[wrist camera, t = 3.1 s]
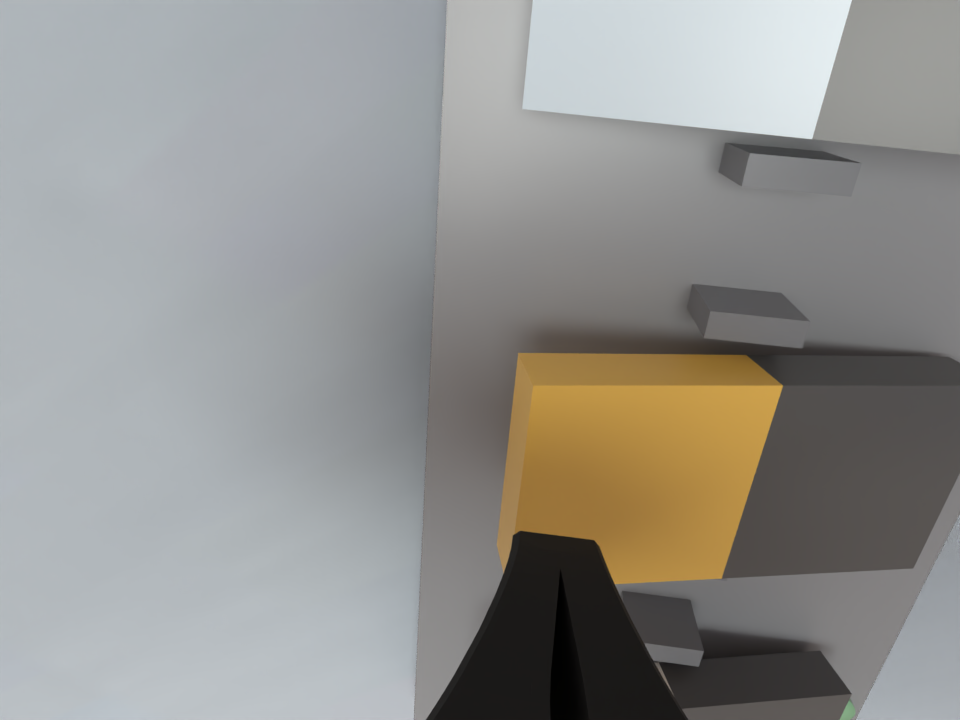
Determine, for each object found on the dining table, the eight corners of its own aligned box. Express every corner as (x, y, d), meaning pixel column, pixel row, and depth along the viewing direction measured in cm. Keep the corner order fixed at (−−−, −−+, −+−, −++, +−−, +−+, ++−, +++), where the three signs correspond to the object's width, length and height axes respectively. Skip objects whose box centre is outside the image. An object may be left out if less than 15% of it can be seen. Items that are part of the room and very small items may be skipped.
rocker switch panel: (1441, -744, 9) (2068, -1314, 5) (784, 743, 24) (828, 873, 20) (505, -748, 10) (478, -1248, 6) (424, 691, 25) (401, 806, 21)
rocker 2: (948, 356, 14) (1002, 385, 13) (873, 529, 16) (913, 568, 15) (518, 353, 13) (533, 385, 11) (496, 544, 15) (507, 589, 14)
